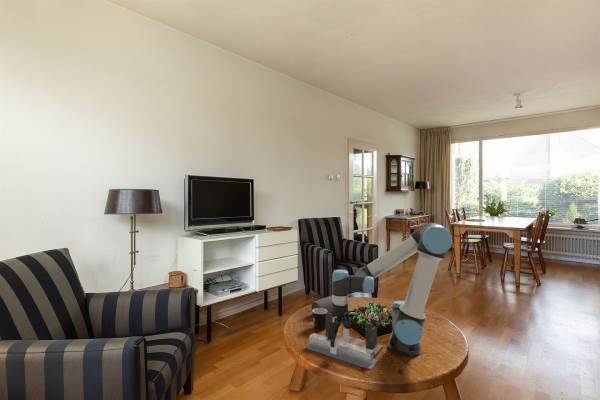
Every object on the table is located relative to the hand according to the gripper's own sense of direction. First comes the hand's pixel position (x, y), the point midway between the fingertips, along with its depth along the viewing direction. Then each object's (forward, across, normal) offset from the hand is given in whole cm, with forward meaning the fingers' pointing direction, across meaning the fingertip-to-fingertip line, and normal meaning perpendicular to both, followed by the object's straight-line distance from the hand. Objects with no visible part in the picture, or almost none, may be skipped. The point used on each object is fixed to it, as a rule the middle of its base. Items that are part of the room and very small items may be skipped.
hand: (339, 347), depth 147 cm
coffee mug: (+4, -21, -23) cm, 31 cm away
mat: (+4, 0, 0) cm, 4 cm away
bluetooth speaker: (+4, -43, -30) cm, 52 cm away
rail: (+3, 0, 0) cm, 3 cm away
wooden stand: (+4, -12, 0) cm, 12 cm away
